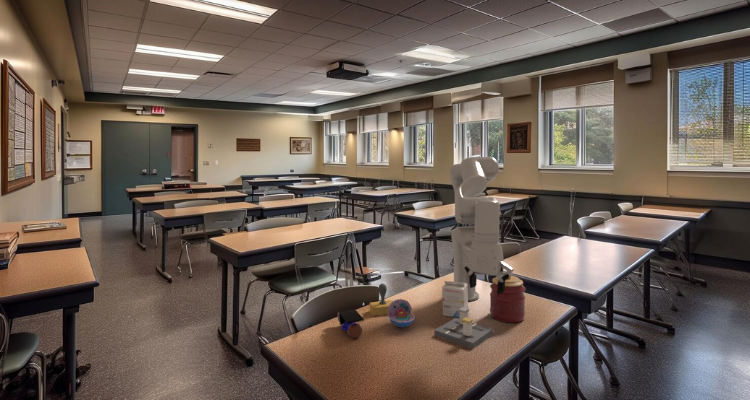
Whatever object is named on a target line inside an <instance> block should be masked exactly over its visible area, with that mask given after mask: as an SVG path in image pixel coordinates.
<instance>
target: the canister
mask: <svg viewBox="0 0 750 400" xmlns="http://www.w3.org/2000/svg"><path fill="white" fill-rule="evenodd" d="M506 273H507V271H506V272H505V273H503V274H504V275H505V274H506ZM491 281H492V283H491V284H490V285H489V288H490V289H491V292H490V293H489V297H490V302H489V303H490V306H489V307H490V308H489V313H490V317H491V318H493V319H494V320H496V321H499V322H503V323H512V324H513V323H514V324H515V323H520V322H522V321H523V320H525V317H526V311H525V310H526V309H525V308H526V307H525V304H526V303H525V302H526V296H525V291H526V287H525V286H524V281H523V280H522V279H520V277H517V276H515V275H511V276H510V277H509V278H508V279H507V280H505V291H504V292H503V293H502V294H498V293H497V286H498V282H499V280H498V278H497V277H496V276H495V277H494V278H492V280H491Z"/></svg>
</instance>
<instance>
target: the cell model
mask: <svg viewBox="0 0 750 400" xmlns="http://www.w3.org/2000/svg"><path fill="white" fill-rule="evenodd" d="M412 310H413V307H412V305H411V303H410V302H409V301H407V300H406V299H402V298H400V299H394V300H393V302H392V303H391V304H390V305H389V307H388V314H387V317H388V318H389V321H390V322H391V323H392V325H394V326H395V327H398V328H408V327H409V326H410V325H412V323H414V321H415V318H416V317H415V314H413V313H412Z"/></svg>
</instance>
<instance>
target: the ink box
mask: <svg viewBox="0 0 750 400" xmlns="http://www.w3.org/2000/svg"><path fill="white" fill-rule="evenodd" d="M441 289H442V290H441V291H442V295H441V296H442V316H446V317H453V318H458V319H460V312H459V309H460V308H462V307H464V308H467V309H469V301H468V284H467V283H460V282H454V281H449V280H448V281H446V280H445V281H444V284H443V286H442V288H441Z"/></svg>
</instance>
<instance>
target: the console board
mask: <svg viewBox="0 0 750 400" xmlns="http://www.w3.org/2000/svg"><path fill="white" fill-rule="evenodd" d="M493 335H494V329H493V328H491V327H488V326H484V325H482V324H477V323H475V322H472V335H470V336H466V335H463V324H460V318H459V317H453V318H452V319H451V320H449V321H448V322H445V323H444V324H442V325H440V326H439V327H437V328H436V329H434V336H435V337H437V338H440V339H444V340H445V341H449V342H453V343H454V344H458V345H460V346H463V347H466V348H469V349H472V350H474V349H475V348H477V347H478V346H479V345H481V344H482V343H483V342H484V341H486V340H488V339H489V338H490V337H492V336H493Z"/></svg>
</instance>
